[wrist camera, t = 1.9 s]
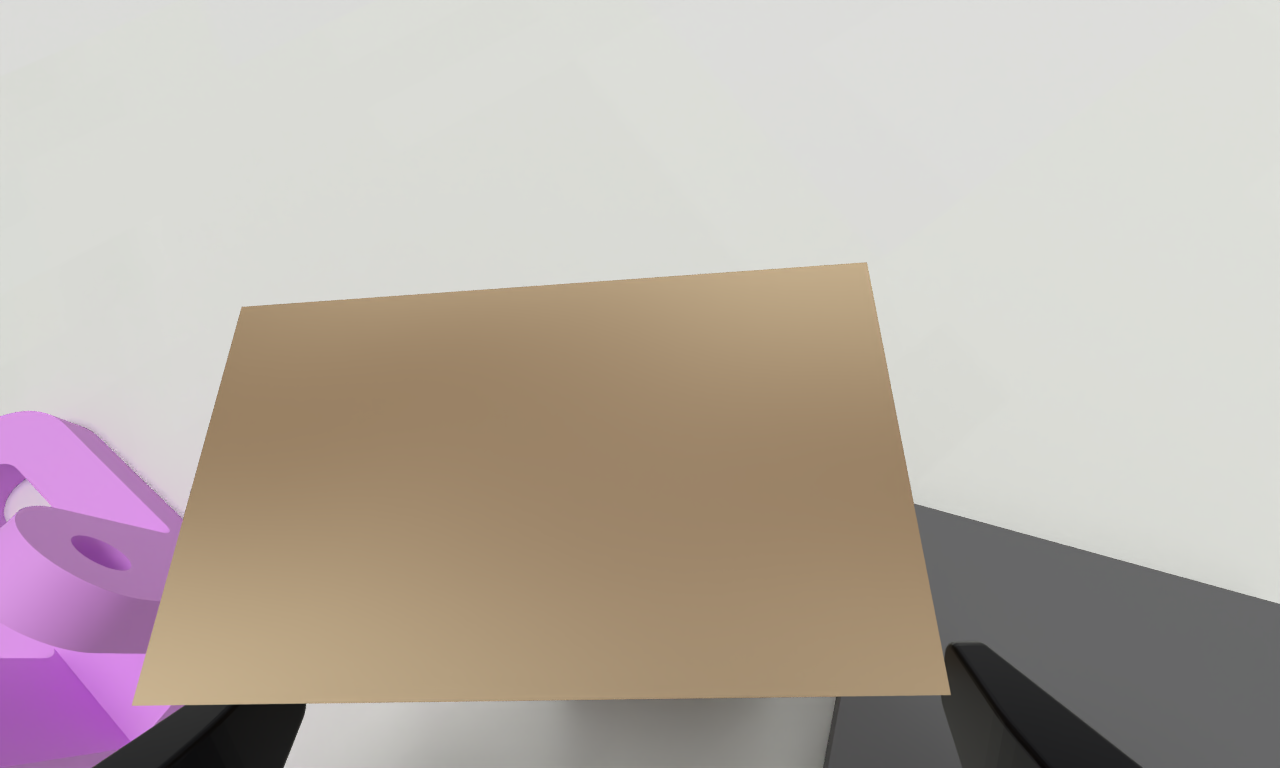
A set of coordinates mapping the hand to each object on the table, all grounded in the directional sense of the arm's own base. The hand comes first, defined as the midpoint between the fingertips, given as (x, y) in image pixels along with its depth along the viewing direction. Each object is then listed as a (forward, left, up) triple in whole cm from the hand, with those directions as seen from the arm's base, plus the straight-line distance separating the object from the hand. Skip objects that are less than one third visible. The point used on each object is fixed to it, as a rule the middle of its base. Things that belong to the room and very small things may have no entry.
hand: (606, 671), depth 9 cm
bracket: (-9, +16, -10) cm, 21 cm away
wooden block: (+1, +1, -10) cm, 10 cm away
